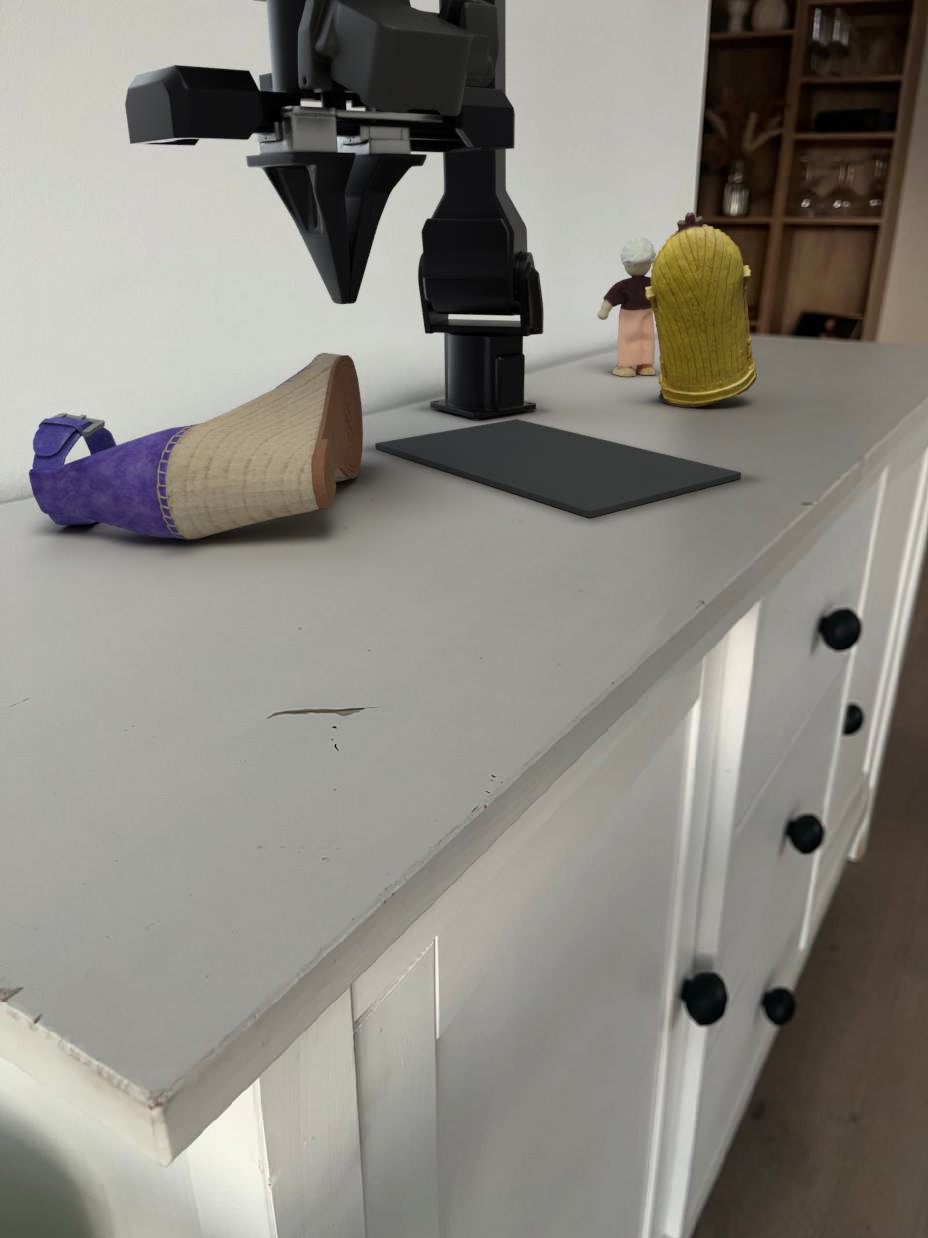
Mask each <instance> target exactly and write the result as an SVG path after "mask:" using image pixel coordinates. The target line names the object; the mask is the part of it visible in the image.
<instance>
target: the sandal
mask: <svg viewBox="0 0 928 1238" xmlns="http://www.w3.org/2000/svg"><path fill="white" fill-rule="evenodd" d="M363 424H364V423H363V407H362V398H361V390H360V382H359V377H358V372H357V368H356V365H355V361H354V360H353V358H352V357H351V356H350V355H349V354H343V355H342V354H338V353H328V352H322V353H319V354H317V355H316V356H315V357H314V358H313V359H311V362H308V364H307V365H306V366H304V367H302V369H300V370H298V371H297V372H296V373H295V374H293V375H292V376H290V377H288V379H286V380H285V381H283V382H282V383H280V384H278V385H277V386H276V387H275V388H273V389H271V390H269V391H267V392H266V393H264V394H262V395H260V396H258V397H255V398H254V399H251V400H249V401H247V402H245V403H243V404H241V405H239V406H236V407H235V408H232V409H230V410H228V411H226V412H224V413H222V414H219V415H217V416H215V417H213V418H211V419H208V420H207V421H204V422H201V423H195V424H189V425H184V426H176V427H170V428H166V429H163V430H158V431H156V432H152V433H150V434H147V435H143V436H140V437H137V438H134V439H132V440H129V441H126V442H125V441H124V442H123V443H119V444H117V442H116V440H115V438H114V436H113V434H112V432H111V431H110V430H109V429H107V428H106V427H105V425H106V421H105V420H104V419H97V418H91V417H87V414H80V415H74V414H69V413H67V412H60V413H58V414H56V415H53V416H52V417H49V418H47V417H46V418H44V419H42V420H41V422H40V423H39V424H38V429H37V430H36V431H35V433H34V437H33V439H32V450H33V453H34V455H33V461H32V468H31V469H29V471H28V477H29V483H30V487H31V491H32V495H33V497H34V499H35V501H36V503H37V505H38V507H39V509H40V511H41V512H42V513H43V514H45V515H48V517H49V518H50V519H51V521H53V522H54V524H55V525H58V526H79V525H90V524H95V523H96V522H98V523H102V524H105V525H109V526H113V527H116V528H119V529H122V530H126V531H128V532H132V533H136V534H141V535H145V536H149V537H156V538H168V539H182V540H186V541H190V540H199V539H203V538H207V537H210V536H214V535H216V534H220V533H223V532H227V531H230V530H234V529H237V528H241V527H242V528H243V527H245V526H249V525H254V524H257V523H262V522H266V521H269V520H274V519H277V518H282V517H288V516H294V515H299V514H304V513H310V512H313V511H317V510H320V508H321V509H323V508H324V509H325V508H332V506H333V502H334V499H335V495H336V490H337V482H338V483H339V482H342V481H346V480H350V479H351V480H352V479H353V480H354V479H355V478H357V476H358V475H359V472H360V468H361V464H362V457H363V445H364V443H363V442H364V425H363ZM81 438H83V439H84V442H85V444H86V446H87V448H88V451H89V454H90V455H87V456H84V457H81V458H79V459H78V458H77V459H76V460H73V461H71V462H67V463H66V458H67V457H68V455H69V453H70V452H71V451H72V449H73V448H74V447H75V445H76V444H77V442H78V441H79V440H80V439H81Z"/></svg>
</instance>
